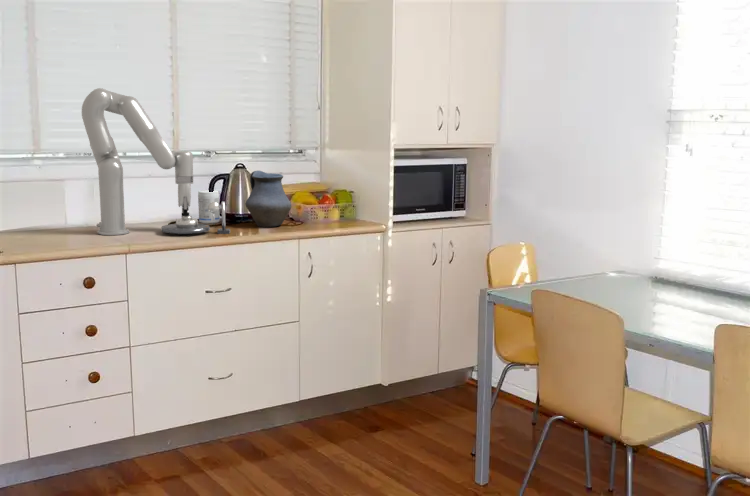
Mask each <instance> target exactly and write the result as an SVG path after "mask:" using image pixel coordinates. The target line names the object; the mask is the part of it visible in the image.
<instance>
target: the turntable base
mask: <svg viewBox="0 0 750 496" xmlns="http://www.w3.org/2000/svg"><path fill="white" fill-rule="evenodd" d="M197 234H198V233H193V234H176V235H177V236H188V235H189V236H191V235H197Z"/></svg>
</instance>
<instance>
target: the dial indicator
mask: <svg viewBox="0 0 750 496" xmlns="http://www.w3.org/2000/svg"><path fill="white" fill-rule="evenodd" d="M208 210H209V211H210V212H211V213H213V223H212V225H215V224H216V223H214V213H216V212H217V211H218V210H219V211H220V210H221V228H217V235H227V234H228V235H230V233H231V228H226V201H221V206H220V204H219V205H218V204H217V203H216V202H211V203H210V204H209V205H208Z"/></svg>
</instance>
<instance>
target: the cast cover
mask: <svg viewBox="0 0 750 496" xmlns="http://www.w3.org/2000/svg"><path fill="white" fill-rule="evenodd" d="M175 224H176V227H177V228H195V227H198V224H199V218H198V219H197V218H194V217H192V215H189V216H182V215H181V218H178V219H177V218H176V220H175Z"/></svg>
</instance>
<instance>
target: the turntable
mask: <svg viewBox="0 0 750 496" xmlns="http://www.w3.org/2000/svg"><path fill="white" fill-rule="evenodd" d="M160 228H161V232H162V233H165V234H173V235H177V234H192V235H194V234H193V233H197V234H202V233H207V232H209V231H210V230H211V228H210V225H208V224H207V223H198V227H195V228H177V227H176V223H171V224H164V225H162V226H161V227H160Z"/></svg>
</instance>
